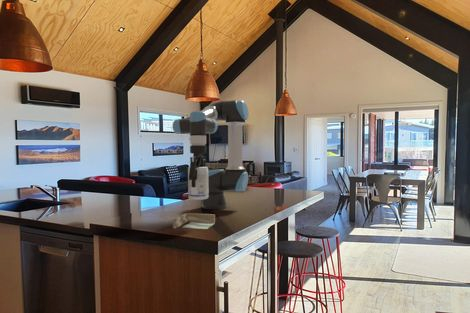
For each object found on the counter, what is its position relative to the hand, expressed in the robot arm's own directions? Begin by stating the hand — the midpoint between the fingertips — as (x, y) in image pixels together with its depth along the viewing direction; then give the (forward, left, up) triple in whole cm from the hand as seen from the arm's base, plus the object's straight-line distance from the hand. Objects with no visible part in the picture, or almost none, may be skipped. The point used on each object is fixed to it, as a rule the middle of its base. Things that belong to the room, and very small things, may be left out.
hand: (198, 192), depth 155 cm
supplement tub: (0, 0, -3) cm, 3 cm away
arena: (0, -2, -15) cm, 16 cm away
